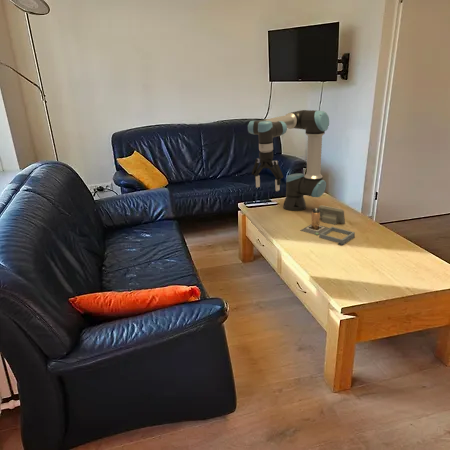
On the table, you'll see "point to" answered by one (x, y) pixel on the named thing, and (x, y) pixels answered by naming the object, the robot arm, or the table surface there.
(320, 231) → the checker pad
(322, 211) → the digital clock
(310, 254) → the table surface
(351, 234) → the tray
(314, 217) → the cell
